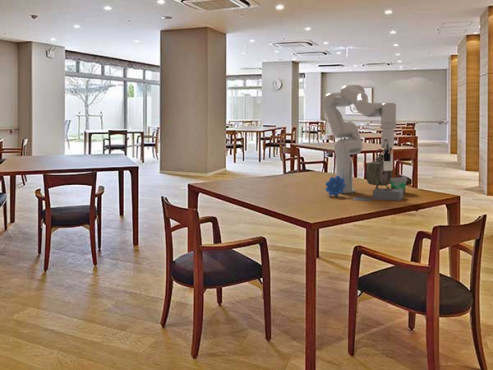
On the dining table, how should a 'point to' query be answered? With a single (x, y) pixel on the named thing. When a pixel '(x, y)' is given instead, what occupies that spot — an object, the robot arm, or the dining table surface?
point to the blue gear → (335, 186)
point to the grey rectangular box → (388, 194)
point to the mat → (362, 199)
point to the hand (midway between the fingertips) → (388, 160)
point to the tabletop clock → (378, 172)
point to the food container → (399, 183)
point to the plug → (389, 162)
